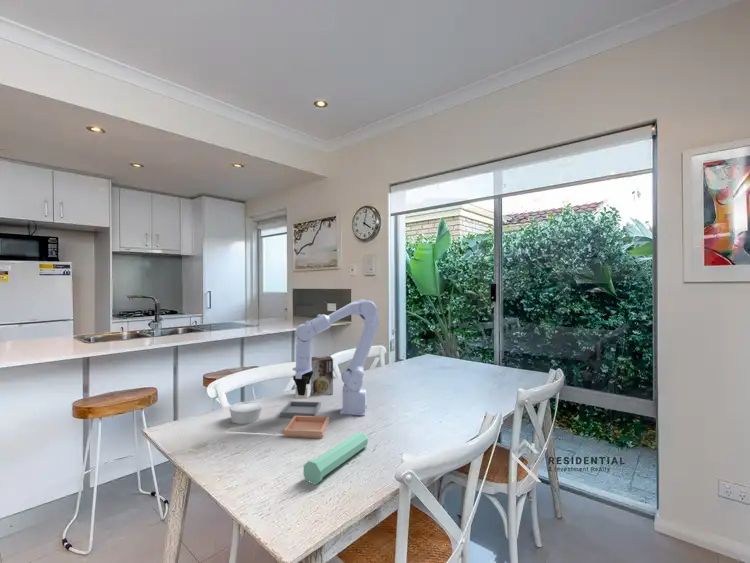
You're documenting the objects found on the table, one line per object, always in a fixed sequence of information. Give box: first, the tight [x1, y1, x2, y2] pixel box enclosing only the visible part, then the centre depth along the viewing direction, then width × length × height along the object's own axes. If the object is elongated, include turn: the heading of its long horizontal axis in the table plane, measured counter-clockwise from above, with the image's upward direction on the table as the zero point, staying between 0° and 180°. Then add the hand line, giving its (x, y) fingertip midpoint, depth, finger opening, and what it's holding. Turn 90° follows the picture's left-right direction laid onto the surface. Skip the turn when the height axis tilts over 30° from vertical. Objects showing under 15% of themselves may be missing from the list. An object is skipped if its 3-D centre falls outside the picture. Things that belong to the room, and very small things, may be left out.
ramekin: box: [229, 400, 263, 425], centre depth 131 cm, size 11×11×5 cm
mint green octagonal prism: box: [302, 431, 369, 485], centre depth 103 cm, size 6×6×25 cm
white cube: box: [295, 383, 311, 400], centre depth 135 cm, size 4×4×4 cm
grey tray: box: [279, 400, 322, 418], centre depth 139 cm, size 13×13×2 cm
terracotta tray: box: [283, 415, 330, 439], centre depth 124 cm, size 13×13×2 cm
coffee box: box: [310, 355, 334, 396], centre depth 163 cm, size 9×6×16 cm
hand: (303, 393), depth 135 cm, fingers closed on white cube, 4 cm apart
